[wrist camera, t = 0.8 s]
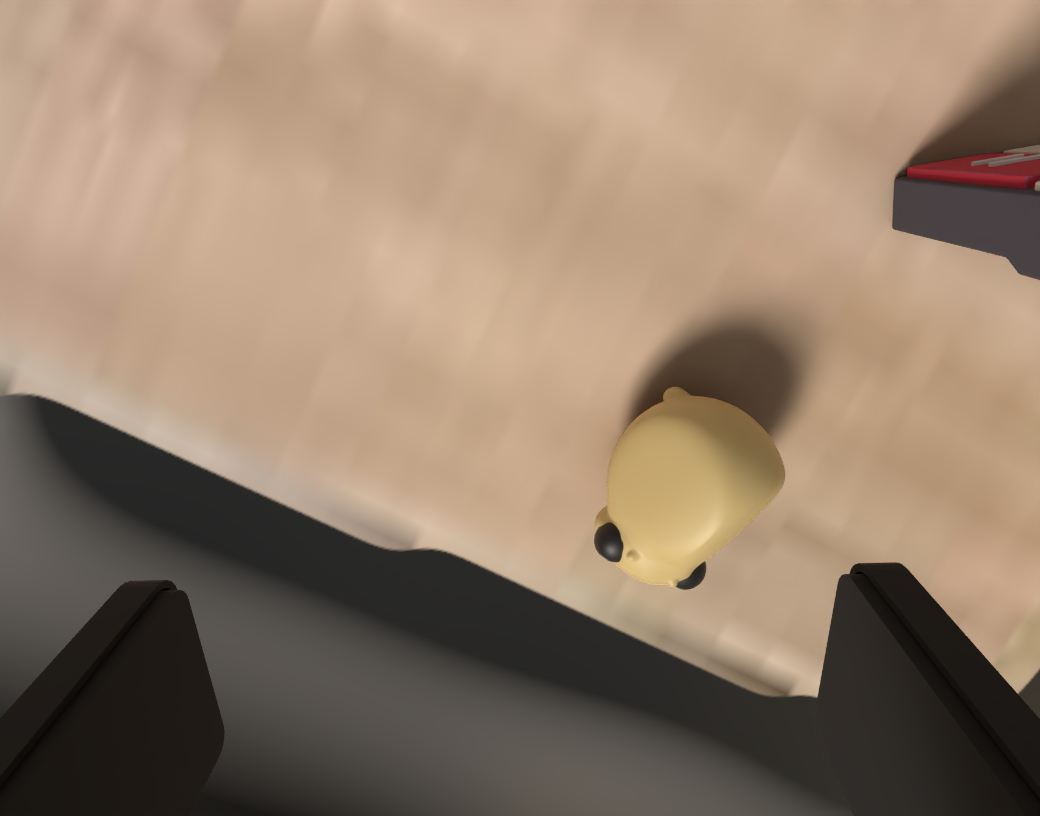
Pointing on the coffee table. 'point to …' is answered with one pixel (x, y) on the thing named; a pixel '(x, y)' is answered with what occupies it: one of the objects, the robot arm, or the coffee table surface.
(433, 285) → the coffee table surface
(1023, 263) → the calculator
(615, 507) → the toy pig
